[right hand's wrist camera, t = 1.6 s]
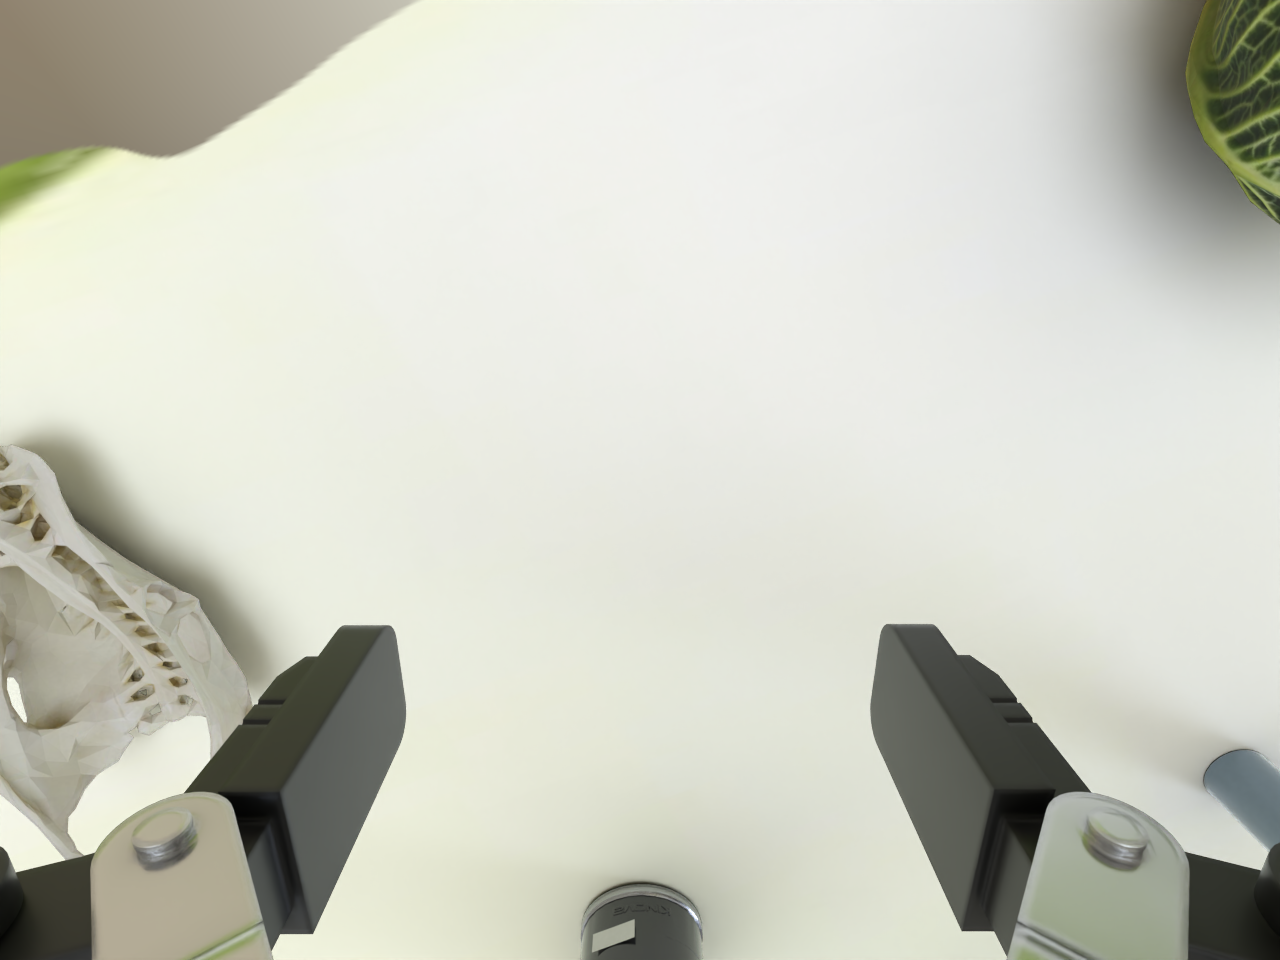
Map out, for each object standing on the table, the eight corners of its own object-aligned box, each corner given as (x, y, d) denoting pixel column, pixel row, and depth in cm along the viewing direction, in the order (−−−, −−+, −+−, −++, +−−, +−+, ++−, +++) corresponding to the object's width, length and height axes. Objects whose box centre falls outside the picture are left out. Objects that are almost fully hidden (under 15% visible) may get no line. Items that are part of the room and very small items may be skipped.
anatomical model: (44, 901, 42) (-290, 556, 33) (144, 782, 50) (-100, 483, 41) (264, 837, 40) (-25, 457, 31) (328, 726, 48) (115, 402, 40)
